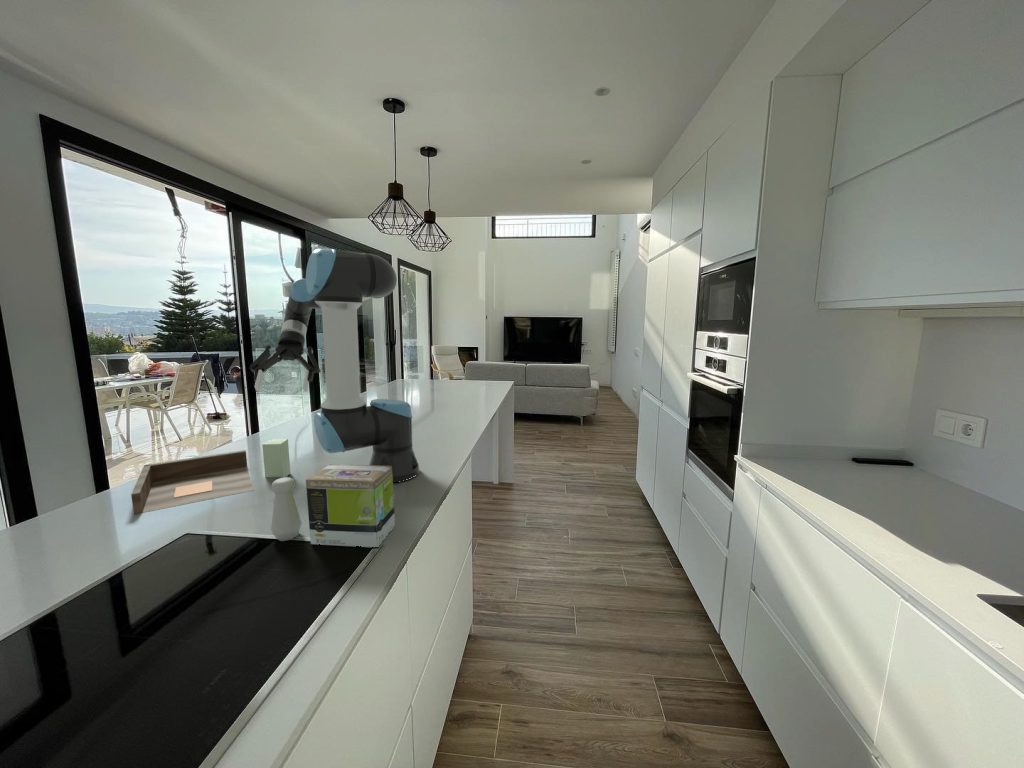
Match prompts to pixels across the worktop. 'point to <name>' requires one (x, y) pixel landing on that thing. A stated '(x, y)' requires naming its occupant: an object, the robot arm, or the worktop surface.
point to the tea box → (350, 505)
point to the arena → (190, 480)
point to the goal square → (193, 489)
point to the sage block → (276, 458)
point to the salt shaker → (285, 510)
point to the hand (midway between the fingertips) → (281, 389)
